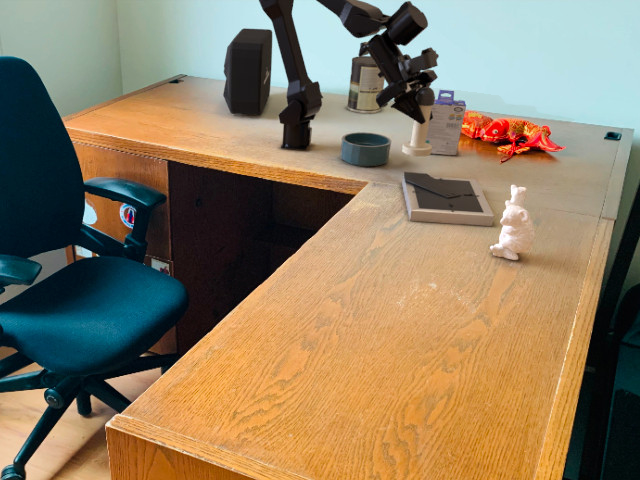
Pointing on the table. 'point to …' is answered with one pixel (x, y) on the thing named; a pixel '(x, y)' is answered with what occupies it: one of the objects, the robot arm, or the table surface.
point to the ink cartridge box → (445, 124)
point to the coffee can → (364, 85)
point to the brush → (421, 126)
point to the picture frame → (445, 200)
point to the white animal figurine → (515, 227)
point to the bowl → (365, 149)
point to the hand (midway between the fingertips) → (427, 121)
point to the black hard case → (248, 71)
